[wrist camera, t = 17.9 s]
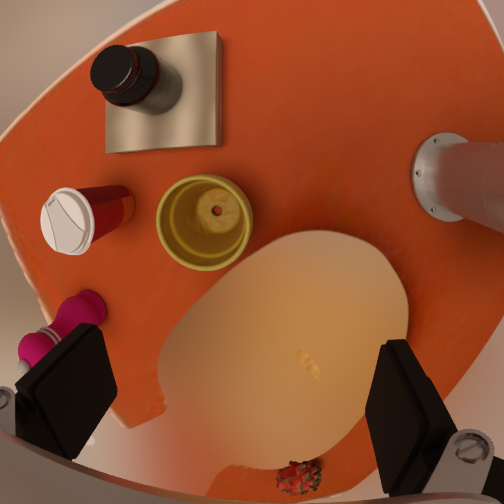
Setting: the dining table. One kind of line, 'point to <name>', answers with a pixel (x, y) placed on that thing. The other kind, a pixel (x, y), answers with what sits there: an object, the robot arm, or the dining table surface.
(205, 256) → the plant pot
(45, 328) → the pepper mill
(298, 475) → the dragon fruit
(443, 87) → the dining table surface
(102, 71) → the supplement bottle
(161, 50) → the beech block
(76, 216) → the paper cup
